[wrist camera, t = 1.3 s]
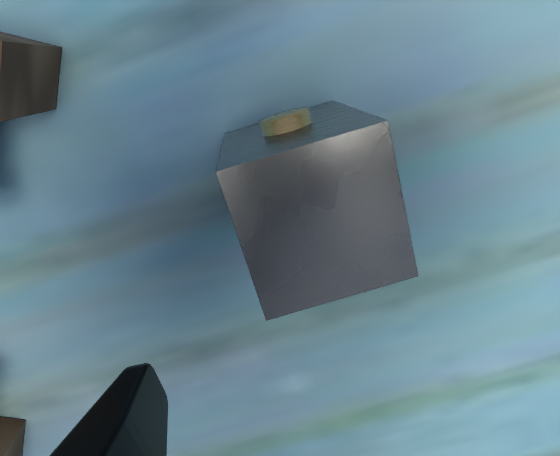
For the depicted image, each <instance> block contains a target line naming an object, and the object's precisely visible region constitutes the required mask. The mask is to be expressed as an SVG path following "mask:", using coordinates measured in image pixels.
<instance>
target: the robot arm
mask: <svg viewBox="0 0 560 456" xmlns="http://www.w3.org/2000/svg"><path fill="white" fill-rule="evenodd" d="M167 422H168V400H167V396H166V393H165V390H164V388H163V386H162V384H161V382H160V380H159V378H158V376H157V374H156V372H155V370H154V368H153V367H152V366H151V365H150V364H148V363H143V364H139V365H134V366H130V367H127V368H126V369H125V370H124V371H123V372H122V373H121V374H120V375H119V376H118V377H117V379H116V380H115V381H114V382H113V383H112V384H111V385H110V387H109V388H108V389H107V390H106V391H105V392H104V394H103V395H102V396H101V397H100V398H99V399H98V400H97V402H96V403H95V404H94V405H93V406H92V407H91V409H90V410H89V411H88V412H87V413H86V414H85V416H84V417H83V418H82V419H81V420H80V421H79V422H78V424H77V425H76V426H75V427H74V428H73V429H72V431H71V432H70V433H69V434H68V435H67V436H66V437H65V439H64V440H63V441H62V442H61V443H60V444H59V446H58V447H57V448H56V449H55V450H54V451H53V453H52V454H51V455H50V456H166V454H167Z"/></svg>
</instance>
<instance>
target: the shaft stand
mask: <svg viewBox="0 0 560 456" xmlns="http://www.w3.org/2000/svg"><path fill="white" fill-rule="evenodd" d="M61 51H62V47H58V46H54V45H50V44H47V43H43V42H39V41H35V40H31V39H27V38H23V37H19V36H15V35H11V34H7V33H3V32H0V122H2V121H7V120H11V119H15V118H20V117H24V116H28V115H32V114H37V113H41V112H45V111H49V110H54V109H56V102H57V92H58V82H59V71H60V61H61ZM25 422H26V420H22V419H14V418H7V417H0V456H22V452H23V442H24V432H25Z"/></svg>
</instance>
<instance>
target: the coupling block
mask: <svg viewBox="0 0 560 456" xmlns="http://www.w3.org/2000/svg"><path fill="white" fill-rule="evenodd" d="M216 174H217V177H218V180H219V183H220V186H221V189H222V192H223V195H224V198H225V200H226V203H227V206H228V209H229V212H230V215H231V218H232V221H233V224H234V227H235V230H236V233H237V236H238V239H239V242H240V245H241V248H242V251H243V254H244V257H245V260H246V262H247V265H248V268H249V271H250V274H251V277H252V280H253V283H254V286H255V289H256V292H257V295H258V298H259V301H260V304H261V307H262V310H263V313H264V316H265V319H266V321H267V320H270V319H273V318H277V317H280V316H284V315H287V314H290V313H294V312H297V311H301V310H304V309H308V308H311V307H314V306H318V305H321V304H325V303H328V302H331V301H335V300H338V299H342V298H345V297H349V296H352V295H355V294H359V293H362V292H366V291H369V290H372V289H376V288H379V287H383V286H386V285H389V284H393V283H396V282H400V281H403V280H407V279H410V278H413V277H417V276H418V272H417V267H416V262H415V257H414V252H413V247H412V241H411V236H410V231H409V226H408V221H407V216H406V211H405V206H404V201H403V196H402V191H401V185H400V180H399V175H398V170H397V165H396V160H395V155H394V150H393V145H392V140H391V135H390V129H389V124H388V121H387V120H385V119H382V118H379V117H377V116H374V115H371V114H368V113H366V112H363V111H360V110H357V109H355V108H352V107H349V106H346V105H344V104H341V103H338V102H336V101H330V102H327V103H323V104H320V105H317V106H313V107H310V108H308V107H301V108H296V109H292V110H288V111H284V112H281V113H278V114H275V115H272V116H269V117H267V118H264V119H262V120H261V121H260V123H256V124H253V125H250V126H246V127H243V128H240V129H236V130H233V131H230V132H226V133H224V138H223V142H222V147H221V151H220V155H219V160H218V164H217V169H216Z"/></svg>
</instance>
